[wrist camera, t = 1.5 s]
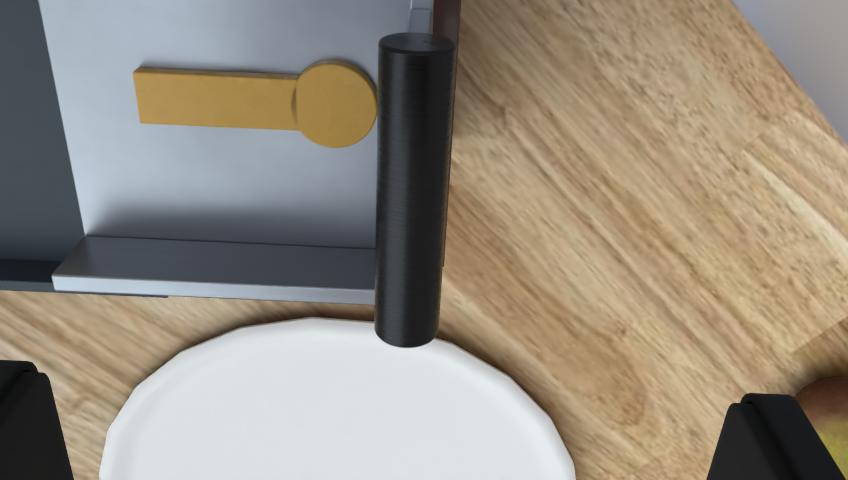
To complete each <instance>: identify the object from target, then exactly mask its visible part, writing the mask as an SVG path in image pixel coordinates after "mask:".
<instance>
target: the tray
mask: <svg viewBox="0 0 848 480" xmlns="http://www.w3.org/2000/svg"><path fill="white" fill-rule="evenodd" d="M84 236H85V234H84V229H83V224H82V219H81V214H80V209H79V204H78V199H77V194H76V189H75V184H74V179H73V174H72V169H71V164H70V159H69V154H68V149H67V144H66V139H65V134H64V129H63V124H62V119H61V114H60V109H59V104H58V99H57V94H56V89H55V84H54V79H53V74H52V69H51V64H50V59H49V54H48V49H47V44H46V39H45V34H44V29H43V24H42V19H41V14H40V9H39V4H38V0H0V290H11V291H33V292H54V293H76V294H98V295H120V296H141V297H163V298H167V297H168V296H161V295H140V294H118V293H96V292H74V291H56V290H55V289H54V286H53V281H52V277H51V275H52V273H53V272H54V271H55V270H56V269H57V268H58V266H59V265H60V264H61V263H62V262H63V260H64V259H65V258H66V257H67V256H68V255H69V253H70V252H71V251H72V250H73V249H74V247H75V246H76V245H77V244H78V243H79V242H80V240H81V239H82V238H83V237H84Z"/></svg>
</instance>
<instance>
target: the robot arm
mask: <svg viewBox="0 0 848 480" xmlns="http://www.w3.org/2000/svg"><path fill="white" fill-rule="evenodd" d="M0 480H74V478H73V474H72V470H71V466H70V462H69V458H68V454H67V450H66V445H65V441H64V437H63V433H62V429H61V425H60V421H59V417H58V413H57V409H56V405H55V400H54V396H53V392H52V388H51V384H50V380H49V378H48V376H47V375H46V374H45V373H40V372H38V371H37V368H36V366H35V365H34V364H33V363H32V362H29V361H11V360H0ZM707 480H846V478H845V477H844V475H843V474H842V472H841V470H840V469H839V467H838V466H837V464H836V462H835V461H834V459H833V458H832V456H831V454H830V453H829V451H828V450H827V448H826V446H825V445H824V443H823V442H822V440H821V438H820V437H819V435H818V434H817V432H816V430H815V429H814V427H813V426H812V424H811V422H810V421H809V419H808V418H807V416H806V414H805V413H804V411H803V410H802V408H801V406H800V405H799V403H798V402H797V401H796V399H795V398H794V397H792V396H790V395H782V394H759V393H748V394H746V395H745V396H744V397H743V398H742V400H741V402H740V403H733V404H731V405H730V406H729V408H728V411H727V414H726V417H725V420H724V424H723V427H722V430H721V434H720V437H719V440H718V443H717V447H716V450H715V453H714V457H713V460H712V463H711V466H710V470H709V473H708V476H707Z"/></svg>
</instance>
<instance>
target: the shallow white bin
mask: <svg viewBox="0 0 848 480" xmlns="http://www.w3.org/2000/svg"><path fill="white" fill-rule="evenodd" d="M38 4H39V9H40V14H41V19H42V24H43V29H44V34H45V39H46V44H47V49H48V54H49V59H50V64H51V69H52V74H53V79H54V84H55V89H56V94H57V99H58V104H59V109H60V114H61V119H62V124H63V129H64V134H65V139H66V144H67V149H68V154H69V159H70V164H71V169H72V174H73V179H74V184H75V189H76V194H77V199H78V204H79V209H80V214H81V219H82V224H83V229H84V234H85V236H84V237H83V238H82V239H81V240H80V242H79V243H78V244H77V245H76V246H75V247H74V249H73V250H72V251H71V252H70V253H69V255H68V256H67V257H66V258H65V259H64V260H63V262H62V263H61V264H60V265H59V266H58V268H57V269H56V270H55V271H54V272H53V273H52V275H51V277H52V281H53V286H54V289H55V290H56V291H74V292H96V293H118V294H140V295H161V296H183V297H205V298H226V299H248V300H270V301H292V302H313V303H335V304H357V305H375V312H374V329H375V332H376V334H377V336H378V337H379V338H380V339H381V340H382V341H383V342H385V343H387V344H389V345H392V346H395V347H400V348H415V347H420V346H423V345H426V344H428V343H429V342H431V341H432V340H433V339H434V338H435V337H436V335H437V333H438V329H439V314H440V298H441V283H442V267H443V251H444V236H445V220H446V204H447V189H448V173H449V157H450V142H451V126H452V110H453V95H454V79H455V63H456V48H457V47H456V44H455V42H454V41H453V40H451V39H449V38H447V37H444V36H441V35H436V34H432V30H433V4H434V0H38ZM324 60H340V61H344V62H347V63H350V64H352V65H354V66H356V67H358V68H359V69H360V70H362V71H363V72H364V73H365V74H366V75H367V76H368V77H369V79H370V80H371V82H372V83H373V85H374V87H375V90H376V93H377V116H376V120H375V123H374V125H373V127H372V129H371V131H370V132H369V133H368V134H367V135H366V136H365V137H364V138H363V139H362V140H361V141H359V142H357V143H356V144H353V145H351V146H348V147H343V148H329V147H324V146H321V145H318V144H316V143H314V142H312V141H311V140H309V139H308V138H306V137H305V136H304V135H303V134H302V133H301V132H300V131H291V130H270V129H249V128H228V127H206V126H185V125H164V124H143V123H140V120H139V113H138V106H137V99H136V92H135V86H134V79H133V71H134V70H136V69H137V68H139V67H142V68H164V69H185V70H206V71H227V72H248V73H269V74H290V75H300V74H301V73H302V72H303V71H304V70H305V69H306V68H307V67H309V66H311V65H312V64H315V63H317V62H320V61H324Z"/></svg>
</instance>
